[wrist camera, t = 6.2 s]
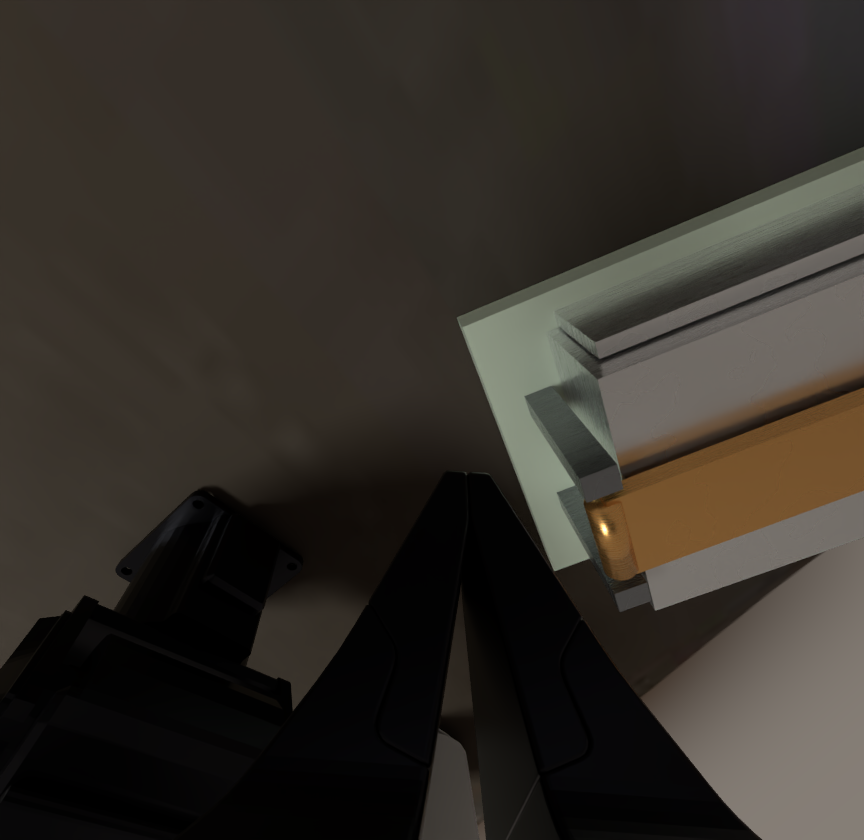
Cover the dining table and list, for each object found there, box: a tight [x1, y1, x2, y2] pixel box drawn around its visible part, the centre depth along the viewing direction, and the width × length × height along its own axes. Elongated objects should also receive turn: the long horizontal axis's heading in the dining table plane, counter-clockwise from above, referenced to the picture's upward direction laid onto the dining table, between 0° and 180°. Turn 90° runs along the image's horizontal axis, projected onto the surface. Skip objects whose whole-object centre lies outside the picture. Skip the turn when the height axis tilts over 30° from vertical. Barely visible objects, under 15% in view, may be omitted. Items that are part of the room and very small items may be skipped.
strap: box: [584, 388, 864, 581], centre depth 16 cm, size 15×4×1 cm, turn 111°
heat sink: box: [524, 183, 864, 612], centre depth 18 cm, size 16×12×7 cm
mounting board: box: [457, 147, 864, 571], centre depth 21 cm, size 20×14×2 cm
